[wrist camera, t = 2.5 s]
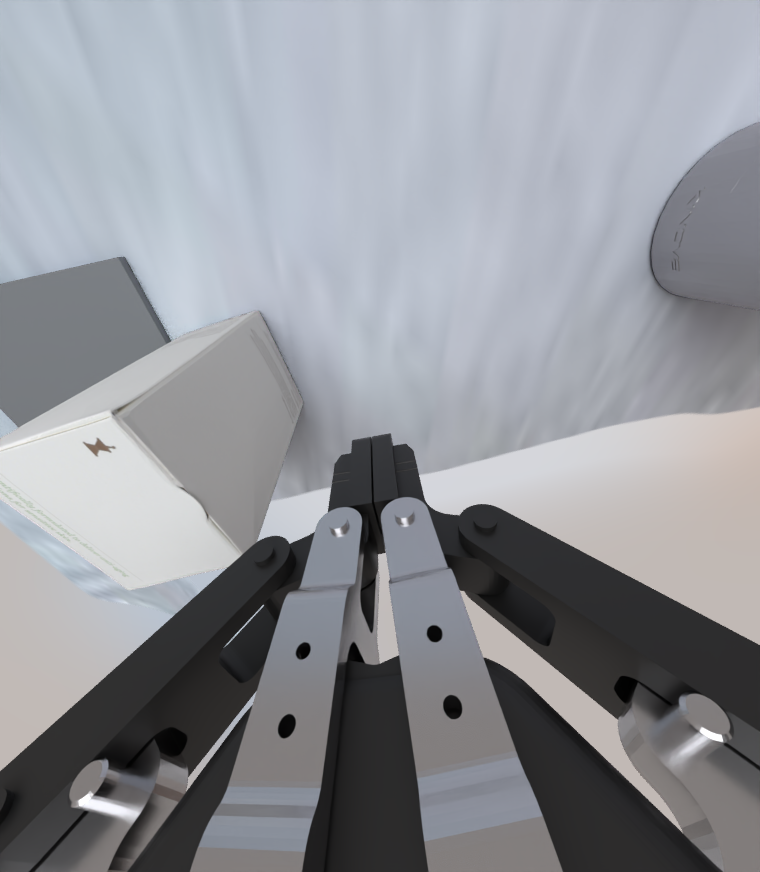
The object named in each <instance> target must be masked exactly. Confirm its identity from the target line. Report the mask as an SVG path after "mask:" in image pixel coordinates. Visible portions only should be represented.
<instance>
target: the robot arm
mask: <svg viewBox="0 0 760 872" xmlns="http://www.w3.org/2000/svg"><path fill="white" fill-rule="evenodd" d="M651 255H652V268H653V271H654V274H655V278H656V279H657V281H658V282H659V283H660V285H661V286H662V287H663V288H664V289H665V290H667V291H668V292H670V293H671V294H674V295H678V296H681V297H686V298H692V299H698V300H704V301H709V302H715V303H721V304H727V305H732V306H736V307H742V308H748V309H754V310H759V311H760V122H758V123H755V124H753V125H751V126H748V127H746V128H744V129H742V130H739V131H737V132H736V133H734V134H733V135H731V136H730V137H728V138H726V139H725V140H723V141H722V142H720V143H719V144H717V145H716V146H715V147H714V148H713V149H712V150H711V151H709V152H708V153H707V154H706V155H705V156H704V157H703V158H701V159H700V160H699V161H698V162H697V164H696V165H695V166H694V167H693V168H692V169H691V170H690V171H689V173H688V174H687V175H686V176H685V177H684V178H683V180H682V181H681V183H680V184H679V185H678V187H677V188H676V190H675V191H674V193H673V194H672V196H671V197H670V199H669V201H668V203H667V205H666V207H665V209H664V211H663V212H662V214H661V216H660V219H659V222H658V225H657V228H656V231H655V234H654V238H653V244H652V250H651ZM333 474H334V476H333V480H332V483H333V484H332V487H331V494H330V501H329V508H328V513H327V514H325V515H324V516H323V517H322V518H321V519H320V520H319V522H318V524H317V527H316V530H315V532H314V533H312V534H311V535H309V536H307V537H304V538H302V539H300V540H298V541H295V542H293V543H291V544H289V543H288V541H287V540H286V539H285V538H283V537H280V536H271V537H267V538H264V539H262V540H260V541H258V542H257V543H255V544H254V545H252V546H251V547H250V548H249V549H248V550H247V551H246V552H245V553H243V554H242V555H241V556H240V557H239V558H238V559H237V560H236V561H234V562H233V563H232V564H231V565H230V566H229V567H228V568H227V569H226V570H225V571H223V572H222V573H221V574H220V575H219V576H218V577H217V578H216V579H214V580H213V581H212V582H211V583H210V584H209V585H208V586H207V587H205V588H204V589H203V590H202V591H201V592H200V593H199V594H198V595H197V596H195V597H194V598H193V599H192V600H191V601H190V602H189V603H188V604H187V605H185V606H184V607H183V608H182V609H181V610H180V611H179V612H178V613H176V614H175V615H174V616H173V617H172V618H171V619H170V620H169V621H168V622H166V623H165V624H164V625H163V626H162V627H161V628H160V629H159V630H158V631H156V632H155V633H154V634H153V635H152V636H151V637H150V638H149V639H148V640H146V641H145V642H144V643H143V644H142V645H141V646H140V647H139V648H137V649H136V650H135V651H134V652H133V653H132V654H131V655H130V656H128V657H127V658H126V659H125V660H124V661H123V662H122V663H121V664H120V665H119V666H117V667H116V668H115V669H114V670H113V671H112V672H111V673H110V674H108V675H107V676H106V677H105V678H104V679H103V680H102V681H101V682H99V684H98V685H96V686H95V687H94V688H93V689H92V690H91V691H90V692H88V693H87V694H86V695H85V696H84V697H83V698H82V699H81V700H80V701H78V702H77V703H76V704H75V705H74V706H73V707H72V708H70V709H69V710H68V711H67V712H66V713H65V714H64V715H63V716H62V717H61V718H59V719H58V720H57V721H56V722H55V723H54V724H53V725H52V726H50V727H49V728H48V729H47V730H46V731H45V732H44V733H43V734H41V735H40V736H39V737H38V738H37V739H36V740H35V741H34V742H33V743H31V744H30V745H29V746H28V747H27V748H26V749H25V750H24V751H22V752H21V753H20V754H19V755H18V756H17V757H16V758H15V759H14V760H12V761H11V762H10V763H9V764H8V765H7V766H6V767H5V768H4V769H2V770H1V771H0V872H760V645H758V644H756V643H755V642H753V641H751V640H749V639H747V638H745V637H743V636H741V635H739V634H737V633H736V632H733V631H732V630H730V629H728V628H726V627H724V626H722V625H720V624H718V623H716V622H715V621H713V620H711V619H709V618H707V617H705V616H703V615H701V614H699V613H698V612H696V611H694V610H692V609H690V608H688V607H686V606H684V605H682V604H680V603H679V602H677V601H674V600H673V599H671V598H669V597H667V596H665V595H663V594H661V593H660V592H658V591H656V590H654V589H652V588H650V587H648V586H646V585H644V584H642V583H641V582H639V581H637V580H635V579H633V578H631V577H629V576H627V575H625V574H623V573H621V572H620V571H618V570H615V569H614V568H612V567H610V566H608V565H606V564H604V563H603V562H601V561H599V560H597V559H595V558H593V557H591V556H589V555H587V554H585V553H583V552H582V551H580V550H578V549H576V548H574V547H572V546H570V545H568V544H566V543H565V542H563V541H561V540H559V539H557V538H555V537H553V536H551V535H549V534H547V533H546V532H544V531H541V530H540V529H538V528H536V527H534V526H532V525H530V524H529V523H527V522H525V521H523V520H521V519H519V518H517V517H515V516H513V515H511V514H509V513H508V512H506V511H504V510H502V509H500V508H497V507H495V506H492V505H486V504H478V505H473V506H471V507H468V508H466V509H465V510H464V511H463V512H462V513H461V514H460V516H459V515H450V514H443V513H440V512H438V511H435V510H434V509H432V508H431V507H430V506H429V505H428V504H427V503H426V501H425V499H424V495H423V491H422V486H421V482H420V477H419V473H418V469H417V464H416V460H415V456H414V451H413V450H412V449H411V448H410V447H409V446H408V445H407V444H402V445H396V446H393V443H392V438H391V434H385V435H379V436H373V437H372V438H371V437H368V438H362V439H357V440H353V441H352V451H351V453H350V454H345V455H341V456H340V458H339V459H338V460H337V462H336V463H335V466H334V473H333ZM385 549H386V552H385ZM382 553H386V555H387V562H388V569H389V575H390V580H389V588H390V596H391V603H392V609H393V616H394V623H395V630H396V637H397V644H398V651H399V656H397V657H394V658H392V659H390V660H388V661H385V662H383V663H381V664H380V663H379V653H378V645H377V625H378V600H379V572H378V554H382ZM460 590H461V591H465V593H466V594H467V596H468V597H469V598H470V599H471V600H472V601H474V602H475V603H476V604H477V605H478V606H480V607H481V608H482V609H483V610H485V611H486V612H487V613H488V614H490V615H491V616H492V617H493V618H495V619H496V620H497V621H498V622H499V623H500V624H502V625H503V626H504V627H505V628H507V629H508V630H509V631H510V632H511V633H513V634H514V635H515V636H516V637H518V638H519V639H520V640H521V641H522V642H524V643H525V644H526V645H527V646H529V647H530V648H531V649H533V651H535V652H536V653H537V654H538V655H540V656H541V657H542V658H543V659H544V660H546V661H547V662H548V663H550V664H551V665H552V666H553V667H554V668H555V669H557V670H558V671H559V672H560V673H562V674H563V675H564V676H565V677H566V678H568V679H569V680H570V681H571V682H572V683H574V684H575V685H576V686H577V687H579V688H580V689H581V690H582V691H584V692H585V693H586V694H587V695H589V696H590V697H591V698H592V699H593V700H595V701H596V702H597V703H598V704H599V705H601V706H602V707H603V708H604V709H605V710H607V711H608V712H609V713H610V714H612V715H613V716H614V717H615V718H617V719H618V729H619V735H620V739H621V742H622V745H623V747H624V750H625V752H626V754H627V756H628V757H629V759H630V761H631V762H632V764H633V765H634V767H635V768H636V770H637V771H638V772H639V773H640V775H641V776H642V777H643V778H644V779H645V780H646V781H647V782H648V783H649V784H650V785H651V787H652V788H653V789H654V790H655V791H656V792H657V793H658V794H659V795H660V796H661V798H662V799H663V800H664V802H665V803H666V804H667V805H668V807H669V808H670V810H671V811H672V813H673V814H674V816H675V818H676V820H677V821H678V823H679V825H680V827H681V829H682V831H683V833H682V832H681V831H680V830H679V829H678V828H677V827H676V826H675V825H674V824H673V823H672V822H671V821H669V819H668V818H666V817H665V816H664V815H663V814H662V813H661V812H660V811H659V810H658V809H657V808H656V807H655V806H654V805H653V804H652V803H651V802H649V800H648V799H647V798H646V797H645V796H643V795H642V794H641V793H640V792H639V791H638V790H637V789H636V788H635V787H634V786H633V785H632V784H631V783H630V782H629V781H628V780H627V779H626V778H625V777H624V776H623V775H622V774H621V773H619V771H617V770H616V769H615V768H614V767H613V766H612V765H611V764H610V763H609V762H608V761H607V760H606V759H605V758H604V757H603V756H602V755H601V754H600V753H599V752H598V751H597V750H596V749H595V748H594V747H593V746H591V745H590V744H589V743H588V742H587V741H586V740H585V739H584V738H583V737H582V736H581V735H580V734H579V733H578V732H577V731H576V730H575V729H574V728H573V727H572V726H571V725H570V724H569V723H568V722H567V721H565V720H564V719H563V718H562V717H561V716H560V715H559V714H558V713H557V712H556V711H555V710H554V709H553V708H552V707H551V706H550V705H549V704H548V703H547V702H546V701H545V700H544V699H543V698H542V697H541V696H539V695H538V694H537V693H536V692H535V691H534V690H533V689H532V688H531V687H530V686H529V685H528V684H527V683H526V682H524V681H523V680H522V679H521V678H519V677H518V676H517V675H516V674H514V673H513V672H511V671H510V670H508V669H507V668H505V667H503V666H502V665H500V664H498V663H496V662H494V661H492V660H489V659H487V658H483V656H482V653H481V650H480V647H479V644H478V641H477V639H476V636H475V633H474V630H473V627H472V624H471V621H470V619H469V616H468V613H467V610H466V607H465V604H464V602H463V599H462V596H461V593H460ZM263 604H264V607H263V608H262V609H261V610H260V611H259V612H258V613H257V614H256V615H255V616H254V617H253V618H252V619H251V621H250V622H249V623H248V624H247V625H246V626H245V627H244V628H243V629H242V630H241V631H240V632H239V633H238V635H237V636H236V637H235V638H234V639H233V640H232V641H231V642H230V643H229V644H228V645H227V646H226V647H224V646H225V645H226V644H227V643H228V642H229V641H230V639H231V638H232V637H233V636H234V635H235V634H236V633H237V632H238V631H239V630H240V629H241V628H242V627H243V626H244V625H245V623H246V622H247V621H248V620H249V619H250V618H251V617H252V616H253V615H254V614H255V613H256V612H257V611H258V609H259V608H260V607H261V606H262V605H263ZM256 691H257V693H256V696H255V699H254V702H253V705H252V706H251V707H250V709H248V711H247V712H246V713H245V714H244V715H243V717H242V718H241V719H240V720H239V722H238V723H237V724H236V726H235V727H234V729H233V730H232V731H231V732H230V734H229V735H228V736H227V738H226V739H225V740H224V742H223V743H222V745H221V746H220V747H219V749H218V750H217V751H216V753H215V754H214V755H213V757H212V758H211V759H210V761H209V762H208V763H207V765H206V766H205V767H204V769H203V770H202V771H201V773H200V774H199V776H198V777H197V778H196V780H195V781H194V782H193V784H192V785H191V786H190V788H189V789H188V790H187V792H186V788H187V783H188V777H189V776H190V774H191V773H192V772H193V771H194V769H195V768H196V766H197V765H198V764H199V763H200V762H201V760H202V759H203V758H204V757H205V755H206V754H207V753H208V752H209V750H210V749H211V748H212V746H213V745H214V744H215V743H216V741H217V740H218V739H219V738H220V736H221V735H222V734H223V733H224V731H225V730H226V729H227V727H228V726H229V725H230V724H231V722H232V721H233V720H234V718H235V717H236V716H237V715H238V714H239V712H240V711H241V710H242V708H243V707H244V706H245V705H246V703H247V702H248V701H249V700H250V698H251V697H252V696H253V694H254V693H255V692H256Z"/></svg>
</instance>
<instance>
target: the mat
mask: <svg viewBox="0 0 760 872" xmlns="http://www.w3.org/2000/svg"><path fill="white" fill-rule="evenodd" d="M169 342H171V341H170V339H169V337H168V335H167V334H166V332H165V330H164V328H163V326H162V324H161V323H160V321H159V319H158V317H157V315H156V314H155V312H154V310H153V308H152V306H151V305H150V303H149V301H148V299H147V297H146V295H145V294H144V292H143V290H142V288H141V286H140V285H139V283H138V281H137V279H136V277H135V276H134V274H133V272H132V270H131V268H130V267H129V265H128V263H127V261H126V259H125V257H117V258H113V259H108V260H104V261H100V262H95V263H91V264H86V265H82V266H78V267H73V268H69V269H64V270H60V271H55V272H51V273H47V274H42V275H38V276H33V277H29V278H25V279H20V280H16V281H11V282H7V283H3V284H0V409H1V410H2V411H3V412H4V413H5V414H6V415H7V416H8V417H9V418H10V419H11V420H12V421H13V422H14V423H15V424H16V425H17V426H18V427H20V426H22V425H24V424H26V423H27V422H29V421H31V420H33V419H35V418H36V417H38V416H40V415H42V414H43V413H45V412H47V411H49V410H51V409H52V408H54V407H56V406H58V405H59V404H61V403H63V402H65V401H67V400H68V399H70V398H72V397H74V396H75V395H77V394H79V393H81V392H82V391H84V390H86V389H88V388H89V387H91V386H93V385H95V384H97V383H98V382H100V381H102V380H104V379H105V378H107V377H109V376H111V375H112V374H114V373H116V372H118V371H119V370H121V369H123V368H125V367H126V366H128V365H130V364H132V363H134V362H135V361H137V360H139V359H141V358H143V357H144V356H146V355H148V354H150V353H152V352H153V351H155V350H157V349H159V348H161V347H162V346H164V345H166V344H168V343H169Z"/></svg>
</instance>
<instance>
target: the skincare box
mask: <svg viewBox="0 0 760 872" xmlns="http://www.w3.org/2000/svg"><path fill="white" fill-rule="evenodd" d="M303 404H304V402H303V400H302V398H301V396H300V394H299V391H298V389H297V387H296V385H295V383H294V381H293V379H292V377H291V375H290V373H289V371H288V369H287V367H286V364H285V362H284V360H283V358H282V356H281V354H280V352H279V350H278V348H277V346H276V344H275V342H274V340H273V338H272V336H271V334H270V331H269V329H268V327H267V325H266V323H265V321H264V319H263V318H262V316H261V314H260V312H259V311H253V312H249V313H246V314H243V315H240V316H236V317H233V318H230V319H227V320H224V321H221V322H218V323H215V324H212V325H209V326H206V327H203V328H200V329H197V330H194V331H191V332H189V333H186V334H183V335H182V336H180V337H178V338H176V339H175V340H173V341H171V342H169V343H168V344H166V345H164V346H162V347H161V348H159V349H157V350H155V351H153V352H152V353H150V354H148V355H146V356H144V357H143V358H141V359H139V360H137V361H135V362H134V363H132V364H130V365H128V366H126V367H125V368H123V369H121V370H119V371H118V372H116V373H114V374H112V375H111V376H109V377H107V378H105V379H104V380H102V381H100V382H98V383H97V384H95V385H93V386H91V387H89V388H88V389H86V390H84V391H82V392H81V393H79V394H77V395H75V396H74V397H72V398H70V399H68V400H67V401H65V402H63V403H61V404H59V405H58V406H56V407H54V408H52V409H51V410H49V411H47V412H45V413H43V414H42V415H40V416H38V417H36V418H35V419H33V420H31V421H29V422H27V423H26V424H24V425H22V426H20V427H19V428H17V429H16V430H14V431H12V432H11V433H9V434H7V435H5V436H3V437H1V438H0V499H1V500H2V501H3V502H5V503H6V504H8V505H9V506H10V507H12V508H13V509H15V510H16V511H18V512H19V513H20V514H22V515H23V516H25V517H26V518H28V519H29V520H30V521H32V522H33V523H35V524H36V525H38V526H39V527H40V528H42V529H43V530H45V531H46V532H48V533H49V534H50V535H52V536H53V537H55V538H56V539H58V540H59V541H60V542H62V543H63V544H65V545H66V546H67V547H69V548H70V549H72V550H73V551H74V552H76V553H77V554H79V555H80V556H81V557H83V558H84V559H86V560H87V561H88V562H90V563H91V564H93V565H94V566H95V567H97V568H98V569H99V570H101V571H102V572H104V573H105V574H106V575H108V576H109V577H111V578H112V579H113V580H115V581H116V582H117V583H119V584H120V585H121V586H123V587H124V588H126V589H127V590H134V589H139V588H144V587H148V586H152V585H156V584H160V583H164V582H168V581H172V580H176V579H180V578H184V577H188V576H192V575H196V574H200V573H205V572H209V571H214V570H218V569H223V568H228V567H229V566H230V565H231V564H232V563H233V562H234V561H236V560H237V559H238V558H239V557H240V556H241V555H242V554H243V553H245V552H246V551H247V550H248V549H249V548H250V547H251V546H252V545H254V544H255V543H256V542H257V539H258V537H259V534H260V530H261V528H262V525H263V522H264V519H265V516H266V513H267V510H268V507H269V504H270V501H271V498H272V495H273V492H274V489H275V486H276V483H277V480H278V477H279V474H280V471H281V468H282V465H283V462H284V459H285V456H286V453H287V450H288V447H289V444H290V441H291V438H292V435H293V433H294V430H295V427H296V424H297V421H298V418H299V415H300V412H301V409H302V406H303Z"/></svg>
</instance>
